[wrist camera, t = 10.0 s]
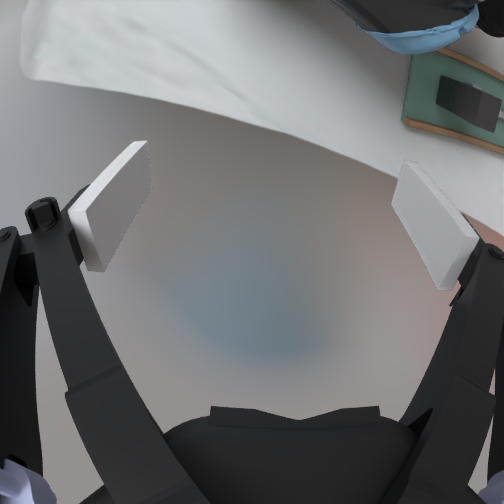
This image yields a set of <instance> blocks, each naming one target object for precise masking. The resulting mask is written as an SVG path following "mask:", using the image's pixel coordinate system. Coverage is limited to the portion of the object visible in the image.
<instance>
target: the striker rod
mask: <svg viewBox="0 0 504 504" xmlns="http://www.w3.org/2000/svg"><path fill="white" fill-rule="evenodd" d="M436 104H437V105H439V106H441V107H443V108H445V109H446V110H448V111H450V112H452V113H454V114H455V115H457V116H459V117H460V118H462V119H464V120H465V121H467V122H469V123H470V124H472V125H474V126H476V127H479V128H481V129H484V130H487V131H489V132H492V133H494V132H495V128H496V125H497V121H498V118H499V119H502V120H504V110H502V109H500V108H501V104H502V100H501V99H499V98H497V97H495V96H493V95H491V94H488V93H486V92H484V91H482V90H479V89H477V88H475V87H472V86H470V85H467V84H465V83H462V82H460V81H457V80H454V79H452V78H449V77H446V76H443V75H441V80H440V85H439V90H438V95H437V100H436Z"/></svg>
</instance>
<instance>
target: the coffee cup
mask: <svg viewBox="0 0 504 504" xmlns="http://www.w3.org/2000/svg"><path fill="white" fill-rule="evenodd" d="M477 6H478V10H479V19H478V21H477V23H476V25H475V26H474V27H475V28H479V29H481V30H482V31H484V32H485V33H487V34H488V35H490V36H493V37H504V0H484V1H482V2H480V3H478V4H477Z"/></svg>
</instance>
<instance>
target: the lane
mask: <svg viewBox="0 0 504 504" xmlns="http://www.w3.org/2000/svg"><path fill="white" fill-rule="evenodd" d="M441 75H443V76H446V77H449V78H452V79H454V80H457V81H460V82H462V83H465V84H467V85H470V86H472V87H475V88H477V89H479V90H482V91H484V92H486V93H488V94H491V95H493V96H495V97H497V98H499V99H501V100H502V104H501V108H500V109H502V110H504V75H502V74H500V73H498V72H496V71H494V70H492V69H490V68H489V67H487V66H485V65H482V64H480V63H478V62H476V61H474V60H472V59H470V58H467V57H465V56H463V55H461V54H458V53H456V52H454V51H451V50H449V49H446V48H444V47H443V48H440V49H438V50H435V51H431V52H427V53H422V54H413V55H412V60H411V67H410V73H409V79H408V85H407V91H406V96H405V102H404V107H403V112H402V117H401V121H402V122H404V123H405V124H406V125H408V126H411V127H415V128H419V129H423V130H427V131H431V132H435V133H438V134H442V135H446V136H449V137H452V138H456V139H459V140H462V141H466V142H469V143H472V144H475V145H478V146H481V147H484V148H487V149H490V150H493V151H495V152H498V153H501V154H503V155H504V120H502V119H499V118H498V121H497V125H496V128H495V132H494V133H492V132H489V131H487V130H484V129H481V128H479V127H476V126H474V125H472V124H470V123H469V122H467V121H465V120H464V119H462V118H460V117H459V116H457V115H455V114H454V113H452V112H450V111H448V110H446V109H445V108H443V107H441V106H439V105H437V104H436V100H437V95H438V90H439V85H440V80H441Z"/></svg>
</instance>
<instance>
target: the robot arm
mask: <svg viewBox="0 0 504 504" xmlns="http://www.w3.org/2000/svg"><path fill="white" fill-rule="evenodd" d="M327 1H328V2H330V3H331V4H332V5H334V6H335V7H336V8H338V9H339V10H340V11H342V12H343V13H344V14H346V15H347V16H348V17H349V18H351V19H352V20H353V21H354V22H356V25H357V26H358V28H360V29H361V30H362V31H364V32H366V33H367V34H370V35H371V36H372V37H374V38H375V39H376V40H377V41H378V42H380V43H381V44H382V45H383V46H384V47H386V48H387V49H389V50H392V51H394V52H397V53H400V54H409V55H413V54H422V53H427V52H431V51H435V50H438V49H440V48H443V47H446V46H448V45H450V44H452V43H454V42H455V41H457V40H459V39H460V34H464V33H468V32H469V31H471V30H472V29H473V27H474V26H475V25H476V23H477V21H478V19H479V10H478V6H477V4H478V3H480V2H482V1H484V0H327ZM152 188H153V187H152V179H151V170H150V162H149V152H148V142H147V141H134V142H133V143H132V144H130V145H129V146H128V147H127V148H126V149H125V150H124V151H123V152H122V153H121V154H120V155H119V156H118V157H117V158H116V159H115V160H114V161H113V162H112V163H111V164H110V165H109V166H108V167H107V168H106V169H105V170H104V171H103V172H102V173H101V174H100V175H99V176H98V178H96V180H95V181H94V182H93V183H92V184H89V185H87V186H86V187H84V188H83V189H81V190H80V191H79V192H78V193H77V194H76V195H75V196H74V198H72V199H71V201H70V202H69V203H68V204H67V205H66V206H65V208H64V209H63V210H62V211H61V212H60V210H59V206H58V203H57V200H56V199H55V198H54V197H45V198H42V199H39V200H37V201H35V202H33V203H32V204H31V205H30V206H28V208H27V209H26V210H25V216H26V218H27V221H28V224H29V227H30V229H31V232H32V233H31V234H27V235H22V236H20V235H19V233H18V230H17V228H16V227H14V226H10V227H6V228H2V229H1V230H0V504H56V501H57V499H56V496H55V494H54V493H53V492H52V490H51V489H50V486H49V484H48V483H47V482H46V480H45V479H44V478H43V465H42V464H43V462H42V450H41V441H40V433H39V424H38V414H37V403H36V402H37V401H36V382H35V381H36V380H35V342H36V341H35V340H36V320H37V307H38V296H39V286H40V289H41V294H42V299H43V304H44V308H45V312H46V317H47V321H48V325H49V328H50V332H51V336H52V340H53V343H54V347H55V349H56V353H57V356H58V360H59V363H60V366H61V369H62V372H63V375H64V378H65V381H66V383H67V387H68V391H67V392H65V399H66V402H67V405H68V408H69V410H70V413H71V415H72V418H73V420H74V423H75V425H76V428H77V430H78V432H79V434H80V437H81V438H82V441H83V443H84V445H85V448H86V450H87V452H88V454H89V455H90V458H91V460H92V462H93V464H94V466H95V468H96V470H97V472H98V473H99V475H100V477H101V479H102V481H103V482H104V485H103V486H101V487H100V488H99V489H98V490H96V491H95V492H94V493H93V494H91V495H90V496H89V497H87V498H86V499H85V500H83V501H82V502H81V503H79V504H504V252H503V251H502V250H501V249H499V248H498V247H497V246H495V245H493V244H489V243H486V244H485V242H484V241H483V240H482V238H481V237H480V236H479V234H478V233H477V232H476V230H475V229H473V226H472V225H471V224H470V223H469V221H468V220H467V219H466V217H465V216H464V215H463V214H462V213H460V212H459V210H458V209H457V208H456V207H455V206H454V204H453V203H452V202H451V201H450V200H449V198H448V197H447V196H446V195H445V194H444V193H443V191H442V190H441V189H440V188H439V187H438V186H437V185H436V183H435V182H434V181H433V180H432V179H431V178H430V177H429V176H428V175H427V174H426V173H425V171H424V170H423V169H422V168H421V167H420V166H419V165H418V164H417V163H416V162H412V161H407V160H404V161H403V164H402V168H401V172H400V175H399V179H398V182H397V186H396V189H395V193H394V196H393V199H392V203H391V205H392V207H393V209H394V210H395V212H396V214H397V215H398V217H399V219H400V220H401V222H402V224H403V226H404V227H405V229H406V231H407V233H408V234H409V236H410V238H411V240H412V242H413V243H414V245H415V247H416V249H417V251H418V252H419V254H420V256H421V258H422V260H423V262H424V264H425V266H426V268H427V270H428V272H429V274H430V276H431V278H432V280H433V282H434V284H435V286H436V288H437V290H440V291H441V290H442V291H445V290H447V291H451V290H452V288H453V287H454V285H455V283H456V281H457V280H458V281H459V283H460V284H461V287H460V289H459V291H458V292H457V294H456V296H455V297H454V299H453V300H452V302H451V303H450V305H449V306H452V305H453V307H452V309H451V312H450V315H449V318H448V320H447V323H446V326H445V328H444V331H443V333H442V336H441V338H440V341H439V343H438V346H437V348H436V350H435V353H434V356H433V357H432V360H431V362H430V364H429V366H428V369H427V371H426V373H425V375H424V377H423V379H422V381H421V383H420V385H419V387H418V389H417V391H416V393H415V395H414V397H413V399H412V401H411V403H410V404H409V406H408V408H407V410H406V412H405V413H404V415H403V416H402V418H401V419H400V420H399V422H397V421H395V420H392V419H390V418H386V417H382V416H380V410H379V406H371V407H359V408H346V409H345V408H344V409H339V410H335V411H332V412H329V413H325V414H322V415H318V416H315V417H311V418H307V419H303V420H295V419H291V418H286V417H282V416H278V415H274V414H271V413H267V412H263V411H259V410H256V409H244V408H229V407H217V406H211V410H210V416H206V417H200V418H196V419H192V420H189V421H187V422H184V423H182V424H180V425H178V426H176V427H174V428H172V429H171V430H169V431H168V432H166V433H165V434H163V432H162V430H161V429H160V427H159V426H158V424H157V423H156V421H155V420H154V418H153V417H152V415H151V413H150V412H149V410H148V409H147V407H146V405H145V404H144V402H143V400H142V398H141V397H140V395H139V394H138V392H137V390H136V388H135V386H134V384H133V383H132V381H131V379H130V377H129V375H128V374H127V372H126V370H125V368H124V366H123V364H122V362H121V360H120V358H119V356H118V354H117V352H116V350H115V348H114V346H113V344H112V342H111V340H110V338H109V336H108V334H107V332H106V330H105V327H104V325H103V323H102V321H101V319H100V316H99V314H98V312H97V309H96V307H95V305H94V302H93V300H92V298H91V295H90V293H89V290H88V288H87V285H86V283H85V280H84V277H83V275H82V273H81V270H80V267H79V266H80V264H81V263H82V261H83V259H84V262H85V265H86V267H87V270H88V271H96V272H105V270H106V268H107V266H108V264H109V262H110V261H111V259H112V257H113V255H114V253H115V251H116V249H117V248H118V246H119V244H120V242H121V240H122V239H123V237H124V235H125V233H126V231H127V230H128V228H129V226H130V225H131V223H132V221H133V220H134V218H135V216H136V215H137V213H138V211H139V210H140V208H141V206H142V205H143V203H144V201H145V200H146V198H147V197H148V195H149V193H150V192H151V190H152ZM494 369H495V396H494V395H493V394H491V393H489V389H490V385H491V381H492V377H493V373H494ZM493 413H494V415H493ZM492 417H493V426H492V435H491V443H490V451H489V459H488V475H487V486H486V488H484V489H482V490H480V492H479V493H478V495H477V494H476V493H475V492H474V491H473V490H472V489H471V488H470V487H469V486H468V482H469V480H470V478H471V476H472V473H473V471H474V468H475V466H476V463H477V461H478V458H479V456H480V453H481V450H482V448H483V445H484V442H485V439H486V436H487V433H488V430H489V427H490V424H491V420H492Z"/></svg>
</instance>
